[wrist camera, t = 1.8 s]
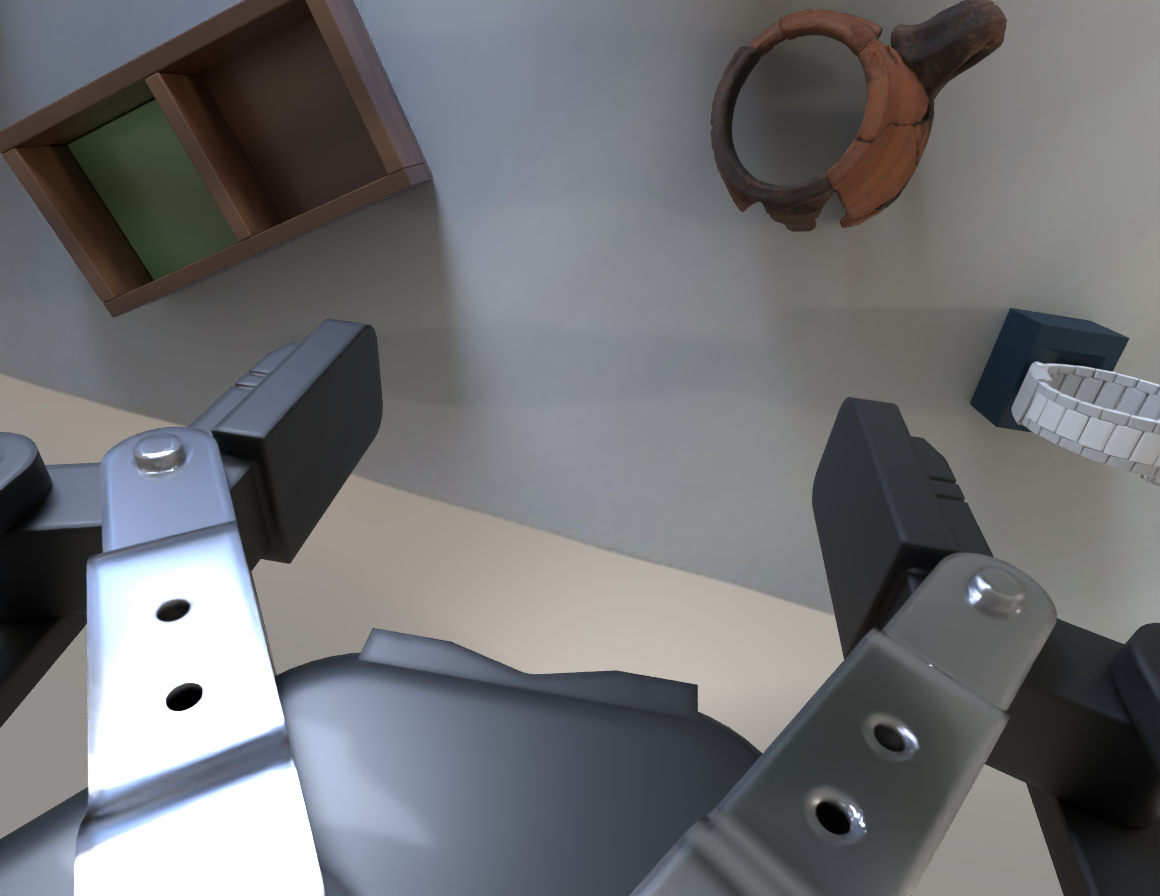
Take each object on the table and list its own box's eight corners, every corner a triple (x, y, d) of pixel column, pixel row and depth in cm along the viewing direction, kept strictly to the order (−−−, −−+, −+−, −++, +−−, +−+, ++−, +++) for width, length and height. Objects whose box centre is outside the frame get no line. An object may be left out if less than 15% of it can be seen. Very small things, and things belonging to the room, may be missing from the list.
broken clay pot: (809, 274, 37) (760, 272, 30) (718, 128, 38) (651, 95, 31) (1051, 108, 30) (1059, 58, 23) (933, -63, 31) (907, -159, 24)
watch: (1079, 421, 39) (1233, 526, 29) (938, 399, 39) (1045, 496, 29) (1128, 325, 37) (1314, 404, 27) (978, 301, 37) (1109, 371, 27)
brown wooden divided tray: (54, 134, 36) (-12, 136, 32) (344, -19, 32) (308, -36, 28) (160, 298, 39) (112, 318, 36) (433, 178, 36) (411, 185, 32)
